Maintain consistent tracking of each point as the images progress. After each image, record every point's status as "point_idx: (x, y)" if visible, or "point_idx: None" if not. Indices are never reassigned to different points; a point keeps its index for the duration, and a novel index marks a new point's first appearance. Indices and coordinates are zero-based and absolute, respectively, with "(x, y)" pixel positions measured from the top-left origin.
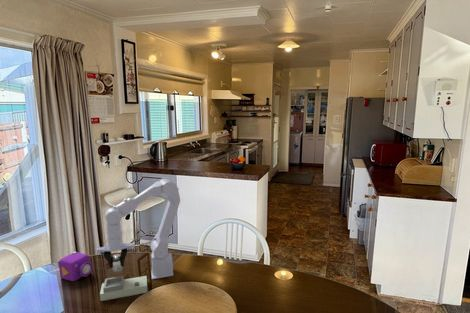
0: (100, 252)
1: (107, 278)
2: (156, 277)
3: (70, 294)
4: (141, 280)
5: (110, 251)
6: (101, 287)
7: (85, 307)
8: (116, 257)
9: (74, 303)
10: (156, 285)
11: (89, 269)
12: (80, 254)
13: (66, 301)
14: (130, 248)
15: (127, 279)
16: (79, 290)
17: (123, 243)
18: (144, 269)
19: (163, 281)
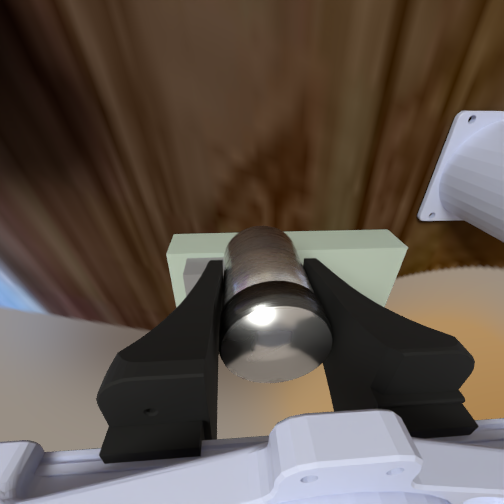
0: (57, 470)
1: (196, 276)
2: (443, 217)
3: (4, 227)
4: (369, 281)
5: (214, 453)
6: (174, 288)
7: (137, 325)
8: (277, 365)
9: (76, 296)
10: (413, 266)
11: None
12: None
13: (25, 276)
14: (493, 434)
15: (304, 255)
16: (36, 203)
17: (494, 493)
18: (424, 67)
19: (453, 245)
